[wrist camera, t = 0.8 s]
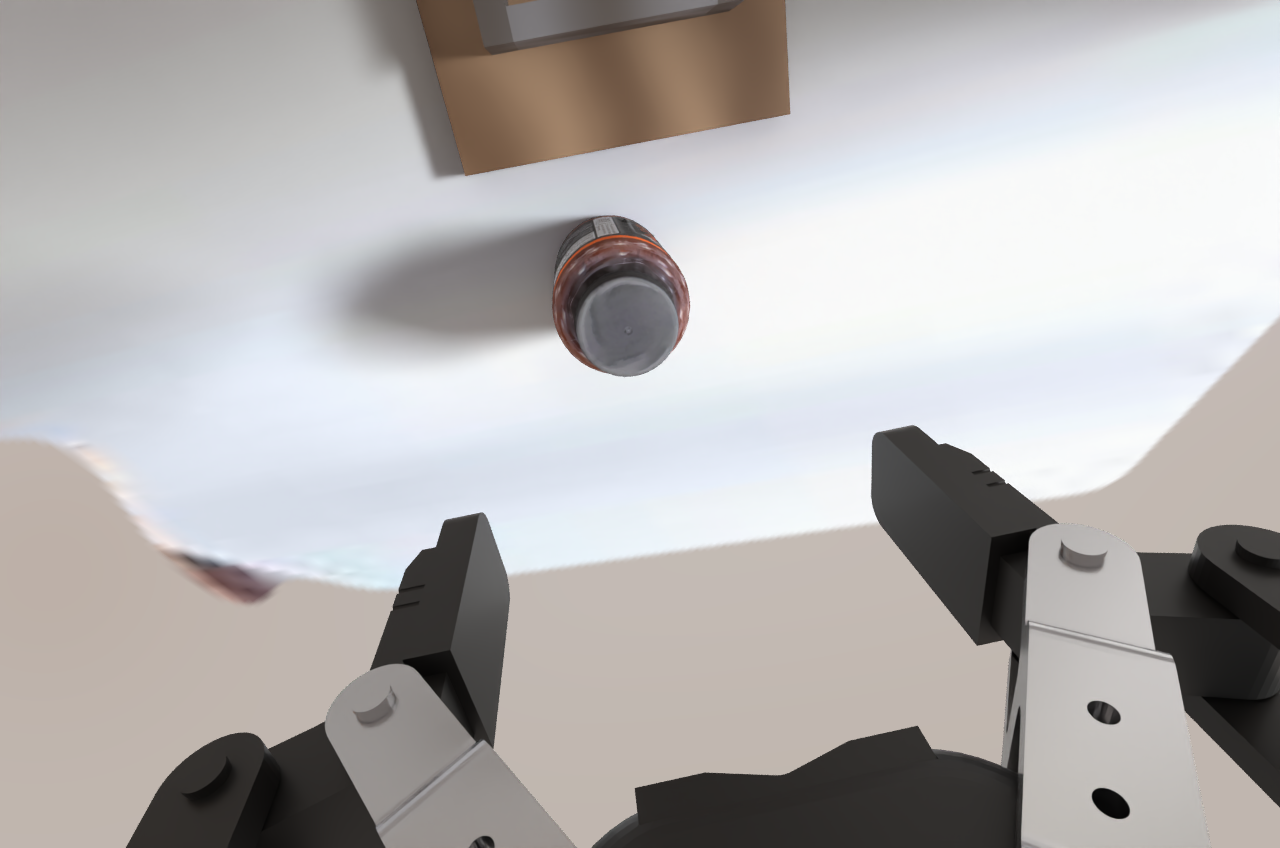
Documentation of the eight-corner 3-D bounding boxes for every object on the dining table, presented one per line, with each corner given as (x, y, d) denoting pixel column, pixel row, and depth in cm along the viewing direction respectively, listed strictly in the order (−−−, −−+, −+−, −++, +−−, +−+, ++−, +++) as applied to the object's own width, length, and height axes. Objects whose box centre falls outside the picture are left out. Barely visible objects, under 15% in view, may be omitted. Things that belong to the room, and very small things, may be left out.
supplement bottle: (683, 281, 34) (734, 346, 24) (598, 342, 35) (612, 430, 25) (621, 188, 31) (649, 217, 21) (532, 257, 32) (517, 316, 22)
